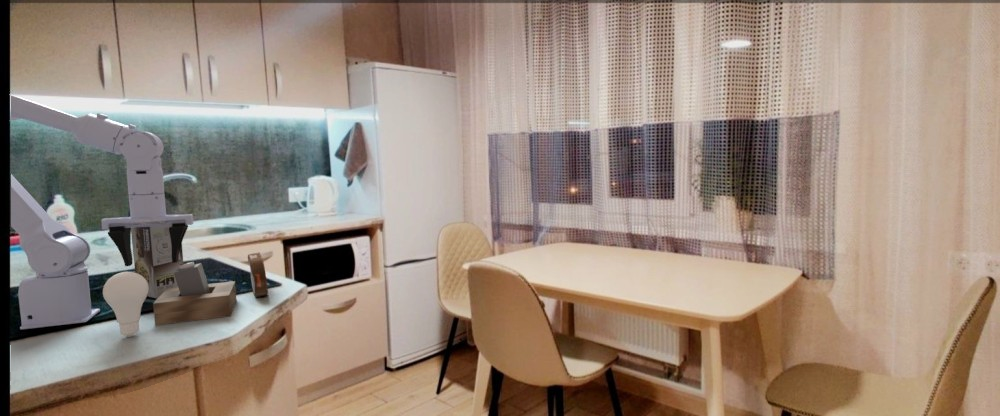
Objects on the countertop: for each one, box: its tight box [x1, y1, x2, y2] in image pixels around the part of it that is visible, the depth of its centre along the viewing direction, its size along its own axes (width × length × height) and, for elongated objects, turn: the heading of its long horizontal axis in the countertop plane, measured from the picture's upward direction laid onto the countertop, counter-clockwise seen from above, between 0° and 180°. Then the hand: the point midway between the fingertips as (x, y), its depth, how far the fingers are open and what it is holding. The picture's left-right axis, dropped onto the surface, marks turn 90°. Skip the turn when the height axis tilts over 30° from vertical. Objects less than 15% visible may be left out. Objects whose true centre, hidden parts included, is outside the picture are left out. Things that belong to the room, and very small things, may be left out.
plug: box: [174, 261, 210, 296], centre depth 97 cm, size 4×4×7 cm
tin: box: [247, 252, 269, 298], centre depth 111 cm, size 15×3×8 cm, turn 29°
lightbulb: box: [102, 271, 149, 338], centre depth 84 cm, size 6×6×11 cm
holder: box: [152, 280, 237, 326], centre depth 98 cm, size 12×12×4 cm
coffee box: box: [131, 221, 184, 299], centre depth 112 cm, size 9×6×16 cm
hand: (152, 263), depth 98 cm, fingers open, 7 cm apart
